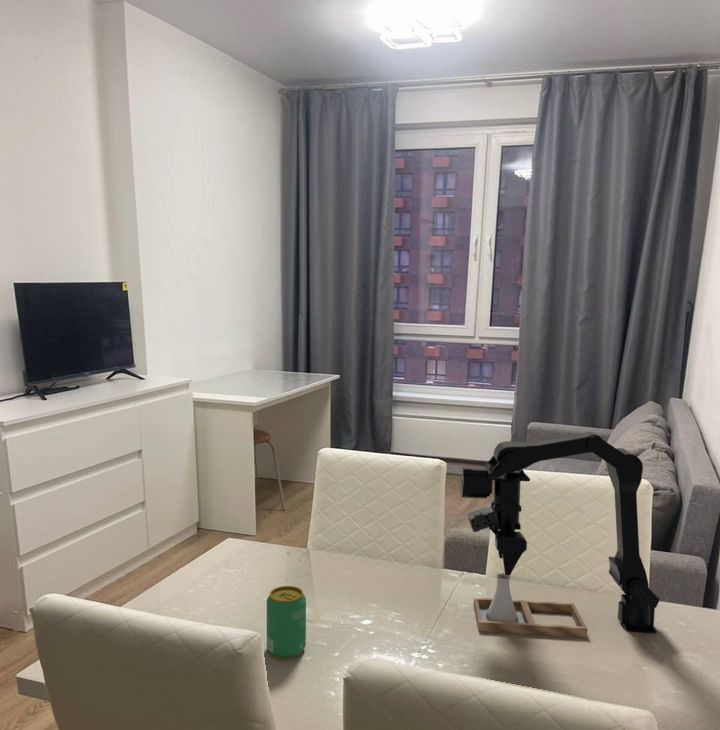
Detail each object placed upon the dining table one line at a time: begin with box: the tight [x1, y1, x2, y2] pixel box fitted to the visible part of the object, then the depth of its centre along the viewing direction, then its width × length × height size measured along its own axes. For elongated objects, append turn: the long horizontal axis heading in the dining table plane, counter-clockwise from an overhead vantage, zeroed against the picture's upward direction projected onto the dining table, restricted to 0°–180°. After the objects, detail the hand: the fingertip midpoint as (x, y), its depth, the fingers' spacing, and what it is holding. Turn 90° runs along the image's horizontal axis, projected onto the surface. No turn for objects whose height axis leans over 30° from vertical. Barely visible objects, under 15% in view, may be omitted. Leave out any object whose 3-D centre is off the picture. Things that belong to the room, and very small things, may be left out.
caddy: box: [473, 597, 588, 638], centre depth 136 cm, size 23×12×2 cm, turn 84°
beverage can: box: [266, 585, 307, 660], centre depth 122 cm, size 8×8×12 cm
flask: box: [486, 572, 518, 623], centre depth 136 cm, size 7×7×10 cm
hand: (504, 566), depth 136 cm, fingers open, 9 cm apart
